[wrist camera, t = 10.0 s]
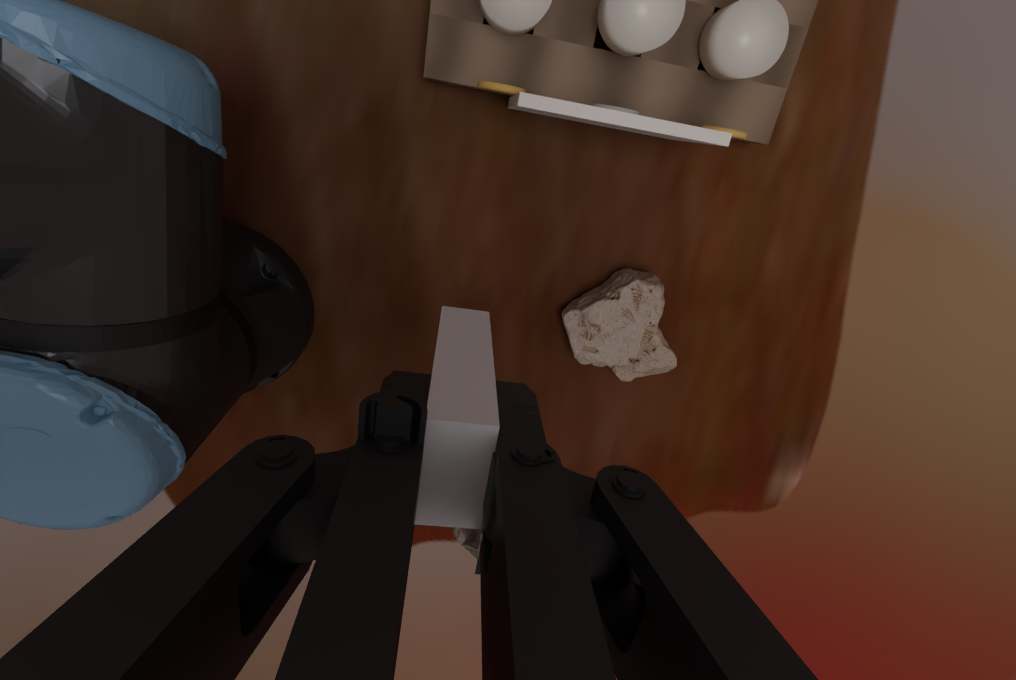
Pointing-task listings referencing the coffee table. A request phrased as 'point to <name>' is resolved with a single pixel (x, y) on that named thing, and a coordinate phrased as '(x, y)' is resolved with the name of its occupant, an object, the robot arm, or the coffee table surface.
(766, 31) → the button
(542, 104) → the card
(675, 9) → the button
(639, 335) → the stone
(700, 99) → the board
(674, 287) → the coffee table surface
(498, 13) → the button
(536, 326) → the coffee table surface
